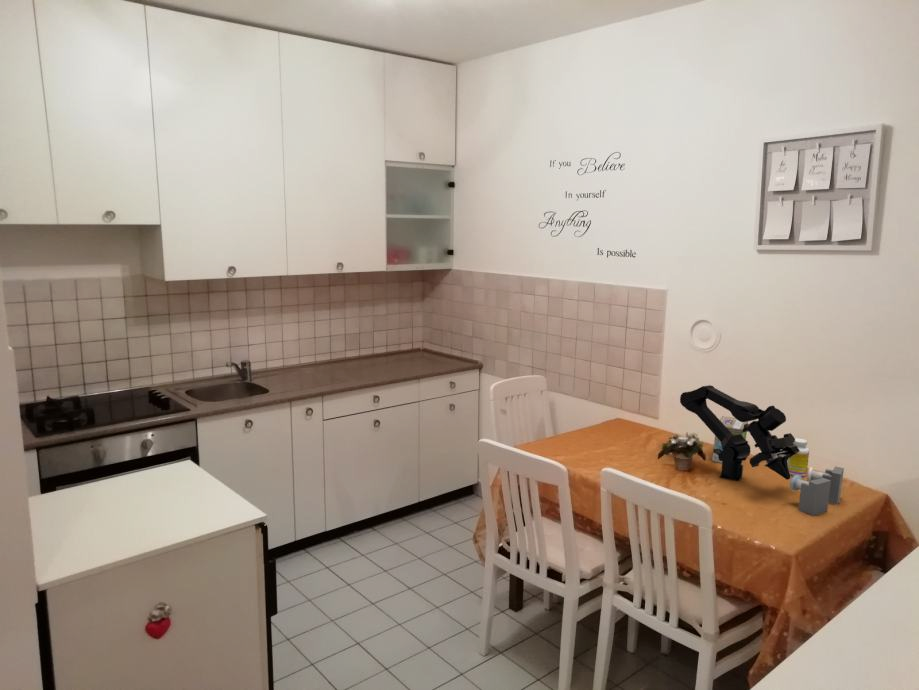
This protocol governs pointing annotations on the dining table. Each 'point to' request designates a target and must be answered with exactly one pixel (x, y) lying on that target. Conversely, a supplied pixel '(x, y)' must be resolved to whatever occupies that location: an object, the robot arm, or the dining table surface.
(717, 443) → the tea box
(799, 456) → the supplement bottle
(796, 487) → the button blue
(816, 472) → the button ivory
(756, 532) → the dining table surface
